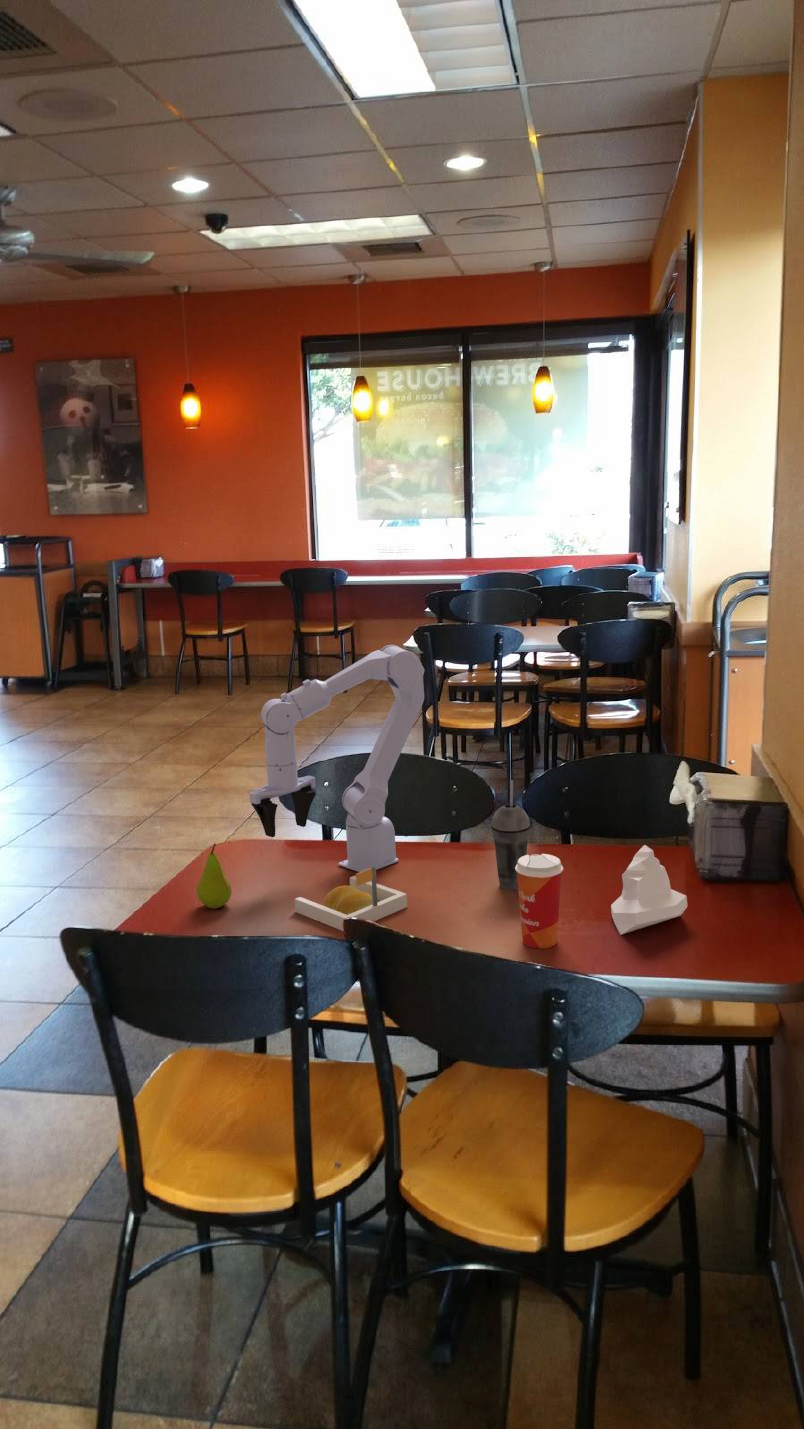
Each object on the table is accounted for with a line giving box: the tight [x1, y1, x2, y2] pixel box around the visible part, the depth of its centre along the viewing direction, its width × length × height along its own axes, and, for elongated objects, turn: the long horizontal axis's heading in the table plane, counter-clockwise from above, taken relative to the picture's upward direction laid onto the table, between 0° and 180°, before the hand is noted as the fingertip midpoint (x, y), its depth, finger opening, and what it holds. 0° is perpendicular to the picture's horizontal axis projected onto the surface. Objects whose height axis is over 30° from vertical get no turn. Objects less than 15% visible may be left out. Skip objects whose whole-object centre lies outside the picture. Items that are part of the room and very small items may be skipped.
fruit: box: [196, 842, 232, 909], centre depth 193 cm, size 6×6×12 cm
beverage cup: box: [490, 779, 531, 891], centre depth 196 cm, size 7×7×20 cm
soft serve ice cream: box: [610, 844, 688, 936], centre depth 179 cm, size 12×15×14 cm
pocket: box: [294, 866, 408, 932], centre depth 189 cm, size 14×14×10 cm
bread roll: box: [323, 884, 373, 915], centre depth 190 cm, size 8×9×4 cm
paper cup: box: [515, 853, 564, 950], centre depth 173 cm, size 8×8×14 cm
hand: (286, 830), depth 205 cm, fingers open, 7 cm apart
